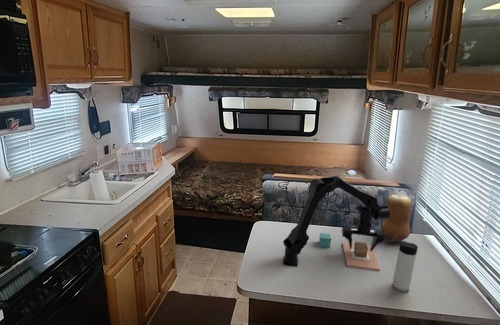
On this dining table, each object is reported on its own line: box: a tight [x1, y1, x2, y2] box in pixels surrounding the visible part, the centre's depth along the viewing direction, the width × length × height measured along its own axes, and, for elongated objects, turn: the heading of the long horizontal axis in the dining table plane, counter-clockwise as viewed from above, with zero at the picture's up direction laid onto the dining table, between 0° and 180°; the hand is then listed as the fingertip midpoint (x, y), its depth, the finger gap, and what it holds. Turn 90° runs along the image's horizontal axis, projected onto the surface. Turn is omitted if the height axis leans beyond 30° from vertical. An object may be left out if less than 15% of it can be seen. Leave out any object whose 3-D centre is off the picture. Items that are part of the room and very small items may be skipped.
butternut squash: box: [381, 194, 412, 243], centre depth 162 cm, size 14×13×25 cm
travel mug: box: [391, 241, 419, 293], centre depth 126 cm, size 6×7×20 cm
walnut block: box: [354, 241, 368, 258], centre depth 149 cm, size 5×5×5 cm
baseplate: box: [341, 241, 381, 271], centre depth 150 cm, size 20×14×1 cm
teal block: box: [318, 232, 332, 249], centre depth 158 cm, size 5×5×5 cm
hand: (360, 249), depth 149 cm, fingers open, 9 cm apart
